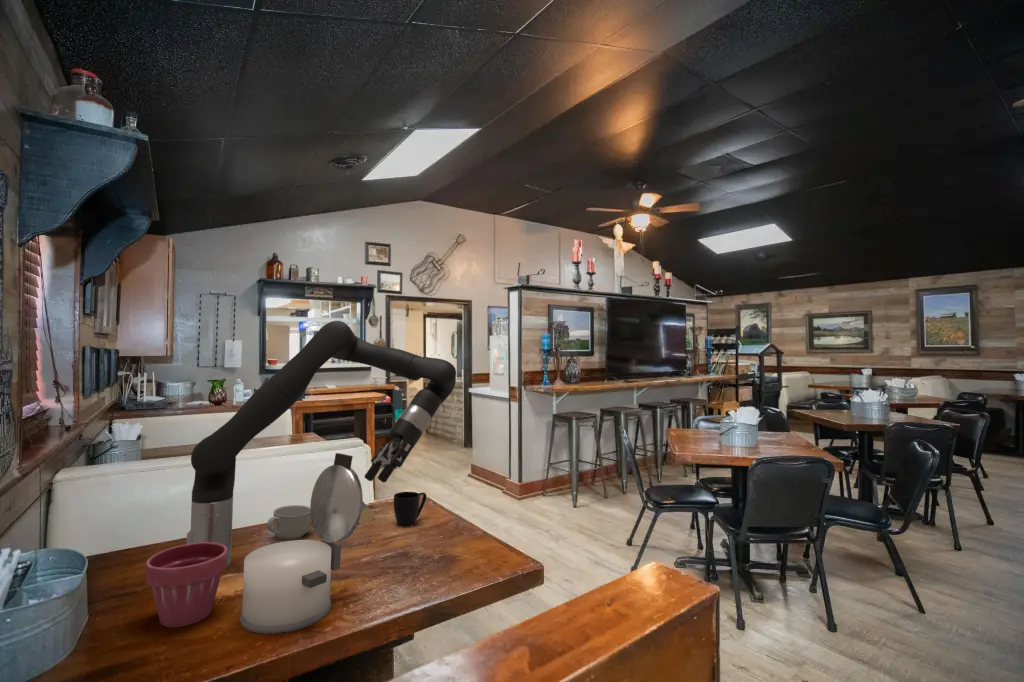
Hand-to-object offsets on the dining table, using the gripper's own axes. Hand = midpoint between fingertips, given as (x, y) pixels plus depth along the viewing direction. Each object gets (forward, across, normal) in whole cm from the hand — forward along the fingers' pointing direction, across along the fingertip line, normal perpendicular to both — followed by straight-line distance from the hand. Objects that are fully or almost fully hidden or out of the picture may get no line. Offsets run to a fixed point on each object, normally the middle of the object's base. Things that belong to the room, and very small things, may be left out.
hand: (374, 480), depth 124 cm
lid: (+9, +1, -6) cm, 11 cm away
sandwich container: (+5, -52, +20) cm, 55 cm away
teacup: (+19, -46, +4) cm, 50 cm away
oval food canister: (+32, 0, 0) cm, 32 cm away
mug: (-3, -38, +32) cm, 50 cm away
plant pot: (+42, -10, -14) cm, 45 cm away
